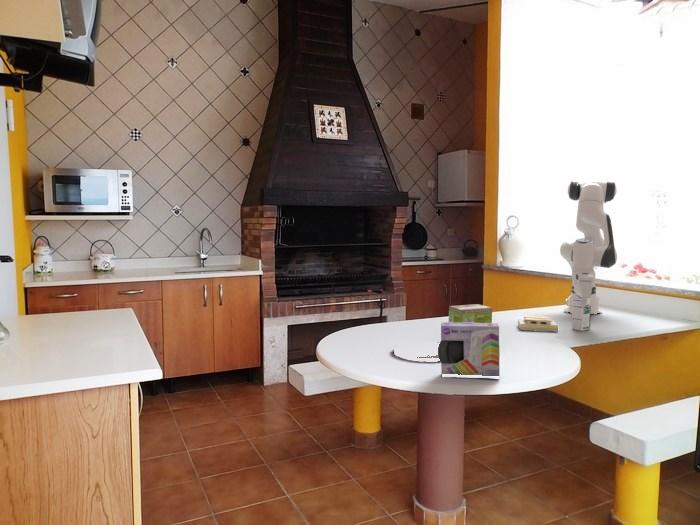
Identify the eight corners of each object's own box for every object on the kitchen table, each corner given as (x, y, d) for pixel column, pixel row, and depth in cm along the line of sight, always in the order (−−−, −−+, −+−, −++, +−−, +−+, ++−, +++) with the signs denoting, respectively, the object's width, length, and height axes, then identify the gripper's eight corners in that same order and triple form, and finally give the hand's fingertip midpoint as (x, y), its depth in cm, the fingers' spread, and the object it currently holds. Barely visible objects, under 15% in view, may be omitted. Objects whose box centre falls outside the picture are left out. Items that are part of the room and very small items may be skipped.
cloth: (523, 319, 249) (524, 315, 249) (548, 320, 246) (548, 316, 246) (525, 323, 240) (525, 319, 240) (551, 324, 238) (551, 320, 238)
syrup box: (582, 331, 237) (583, 299, 236) (571, 328, 242) (571, 297, 241) (590, 329, 240) (591, 298, 239) (578, 327, 245) (579, 296, 244)
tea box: (461, 346, 212) (462, 309, 210) (447, 340, 221) (447, 305, 220) (492, 342, 218) (492, 306, 217) (476, 337, 227) (477, 303, 226)
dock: (517, 325, 251) (518, 318, 251) (553, 326, 248) (553, 320, 247) (520, 330, 239) (520, 323, 239) (557, 332, 236) (557, 325, 236)
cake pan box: (437, 377, 170) (438, 323, 169) (438, 373, 175) (438, 320, 174) (499, 381, 166) (500, 325, 165) (498, 376, 171) (499, 322, 170)
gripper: (571, 272, 250) (570, 301, 251) (579, 277, 230) (578, 308, 231) (585, 272, 248) (584, 301, 250) (595, 277, 229) (593, 309, 230)
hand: (581, 305), depth 240 cm, fingers closed on syrup box, 8 cm apart
